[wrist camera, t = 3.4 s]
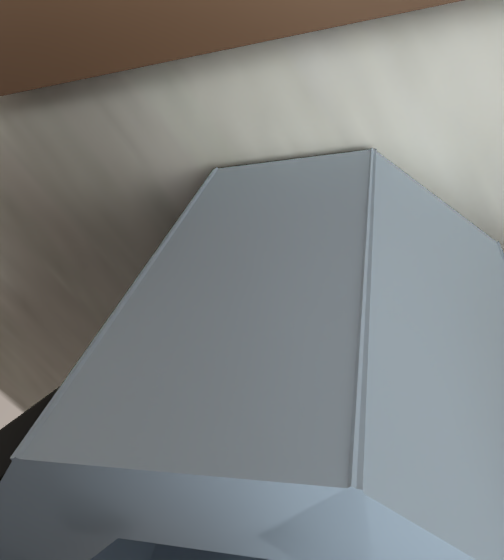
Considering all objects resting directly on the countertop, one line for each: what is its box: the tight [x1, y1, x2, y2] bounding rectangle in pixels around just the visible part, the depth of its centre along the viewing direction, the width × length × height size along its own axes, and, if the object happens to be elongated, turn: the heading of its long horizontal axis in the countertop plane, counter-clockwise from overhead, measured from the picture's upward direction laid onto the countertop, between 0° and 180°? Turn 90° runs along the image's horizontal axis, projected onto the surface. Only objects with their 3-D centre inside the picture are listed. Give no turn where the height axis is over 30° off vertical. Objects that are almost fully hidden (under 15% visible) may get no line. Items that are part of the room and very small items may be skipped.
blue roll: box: [0, 148, 504, 560], centre depth 8 cm, size 7×7×6 cm
